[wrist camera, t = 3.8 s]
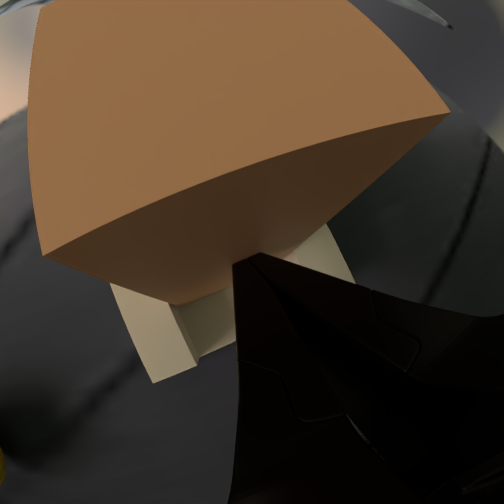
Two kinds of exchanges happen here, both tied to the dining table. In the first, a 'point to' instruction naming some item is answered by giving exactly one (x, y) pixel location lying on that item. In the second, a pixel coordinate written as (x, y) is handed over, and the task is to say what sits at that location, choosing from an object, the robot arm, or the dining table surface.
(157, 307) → the chute
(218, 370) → the dining table surface
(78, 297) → the dining table surface
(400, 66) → the block
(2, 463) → the lemon
